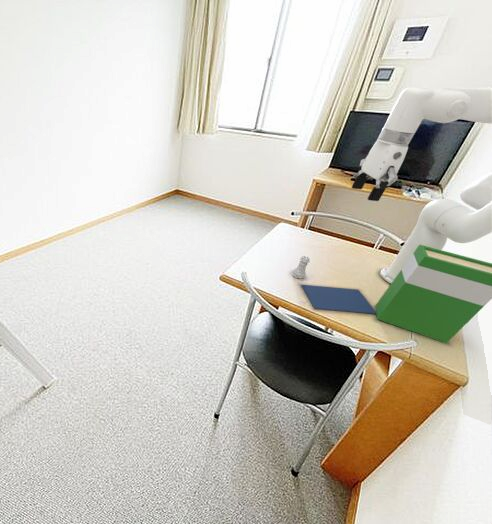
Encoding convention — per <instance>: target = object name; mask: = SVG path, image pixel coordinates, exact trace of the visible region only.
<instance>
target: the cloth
mask: <svg viewBox="0 0 492 524" xmlns="http://www.w3.org/2000/svg"><path fill="white" fill-rule="evenodd" d="M300 286H301V288H302V289H303V291H304V293H305V295H306V297H307V298H308V300H309V302H310V304H311V305H312V307H313V309H314V310H323V311H335V312H347V313H357V314H358V313H359V314H367V315H369V314H370V315H377V313H376V309H375V308H374V307H373V306H372V305H371V304H370V302H369V301H368V300H367V298H366V297H365V296H364V295H363V293H362V292H361V291H360V290H359V289H357V288H356V289H355V288H345V287H344V288H343V287H334V286H333V287H331V286H322V285H321V286H320V285H311V284H310V285H309V284H301V285H300Z"/></svg>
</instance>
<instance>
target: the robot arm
mask: <svg viewBox="0 0 492 524" xmlns="http://www.w3.org/2000/svg"><path fill="white" fill-rule="evenodd" d="M423 120H427V121H431V122H434V123H438V124H439V123H440V124H448V123H453V122H455V121H458V120H464V121H468V122H472V123H479V124H480V123H482V124H492V87H437V86H436V87H427V88H426V87H420V86H419V87H418V86H407V87H405V88H404V89H403V90H402V91H401V92H400V93H399V96H398V98H397V100H396V102H395V104H394V106H393V107H392V109H391V112H390V114H389V115H388V118H387V120H386V121H385V123H384V126H383V127H382V129H381V131H380V133H379V135H378V137H377V139H376V140H375V142H374V144H373V146H372V147H371V148H370V150H369V152H368V153H367V155H366V157H365V158H362V159H360V163H359V166H358V172H357V173H356V177H355V180H354V182H353V183H352V185H351V189H355V190H362V189H363V188H364V186H365V184H366V183H367V180H368V178H369V177H371V178H373V179H374V180H375V186H373V188H372V189H371V191H370V193H369V195H368V197H367V201H372V202H379V201H380V200H381V198H382V196H383V194H384V193H385V191H386V190H388V188H390V187H392V185H393V184H394V183H396V181H397V180H399V178H398V177H399V176H398V173H399V170H400V168H401V166H402V164H403V162H404V161H405V158H406V155H407V152H408V150H409V144H410V143H411V141H412V139H413V138H414V135H415V134H416V132H417V131H418V129H419V127H420V126H421V123H422V121H423ZM459 197H460V201H462V202H463V203H464V204H466V205H467V206H469V207H470V208H469V207H467V206H465V205H463V204H462V203H460V202H458V201H456V200H452V199H449V198H438V199H433V200H432V201H430V202H428V203H426V205H425V206H424V207H423V208H422V210H421V211H420V213H419V216H418V219H417V221H416V224H415V226H414V228H413V230H412V231H411V232H410V233H411V234H410V235H409V236H408V238H407V239H406V241H405V242H404V244H403V245H402V247H401V249H400V250H399V252H398V253H397V254H396V256H395V258H394V260H393V261H392V263H390V264H389V267H383V268H382V269H381V270H380V272H379V274H380V277H381V278H382V279H383V280H384V281H386V282H387V283H389V285H391V283H392V282H393V280H394V279H395V278H396V276H397V275H398V274H399V272H400V271H401V269H402V268H403V267H404V265H405V264H406V263H407V261H408V260H409V258H410V257H411V256H412V254H413V253H414V252H415V250H416V249H417V247H418V246H419V245H423V246H427V247H431V248H435V249H439V250H442V251H443V249H444V247H445V246H446V243H447V241H448V240H450V241H452V242H455V243H458V244H468V243H472V242H474V241H477V240H479V239H482V238H483V237H485V236H487V235H489V234H491V233H492V171H490V172H488V173H486V174H485V175H483V176H481V177H480V178H478V179H476V180H475V181H473V182H472V183H470V184H468V185H467V186H465V187H464V188H463V189H462V191H461V192H460V194H459ZM471 208H473V209H475V210H476V211H475V210H473V209H471Z"/></svg>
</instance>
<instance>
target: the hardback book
mask: <svg viewBox="0 0 492 524" xmlns="http://www.w3.org/2000/svg"><path fill="white" fill-rule="evenodd" d="M490 301H492V262H488V261H484V260H481V259H478V258H477V259H476V258H473V257H469V256H465V255H461V254H458V253H455V252H450V251H446V250H443V249H442V250H439V249H435V248H431V247H427V246H423V245H419V246H418V247H417V249H416V250H415V252H414V253H413V254H412V256H411V257H410V258H409V260H408V261H407V263H406V264H405V265H404V267H403V268H402V269H401V271H400V272H399V274H398V275H397V276H396V278H395V279H394V280H393V282H392V283H391V284H389V286H388V287H387V288H386V289H385V291H384V293H383V294H382V295H381V296H380V298H379V300H378V301H377V303H376V304H375V305H374V307H375V311H376V313H377V314H376V318H377V320H379V321H380V322H381V321H382V322H385V323H387V324H391V325H393V326H395V327H399V328H402V329H404V330H406V331H410V332H413V333H416V334H419V335H421V336H425V337H427V338H431V339H433V340H436V341H438V342H441V343H445V344H448V343H449V342H450V340H452V338H454V336H456V335H457V333H459V332H460V331H461V329H463V327H465V326H466V325H467V324H468V323H469V322H470V321H471V320H472V319H473V318H474V317H475V316H476V315H477V314H478V313H479V312H480V311H481V310H482V309H483V308H484V307H485V306H486V305H487V304H488V303H489V302H490Z"/></svg>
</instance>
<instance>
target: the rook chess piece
mask: <svg viewBox="0 0 492 524" xmlns="http://www.w3.org/2000/svg"><path fill="white" fill-rule="evenodd" d="M299 260H300V261H299V263H298V265H297V267H295V268H294V269H293V271H292V272H291V274H292V276H293V277H294V278H296V279H299V280H302V279H304V278H305V277H306V274H307V273H306V267H307V266H308V263H310V262H311V261H310V257H309V256H306V255H302V256H301V257H300V258H299Z"/></svg>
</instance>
